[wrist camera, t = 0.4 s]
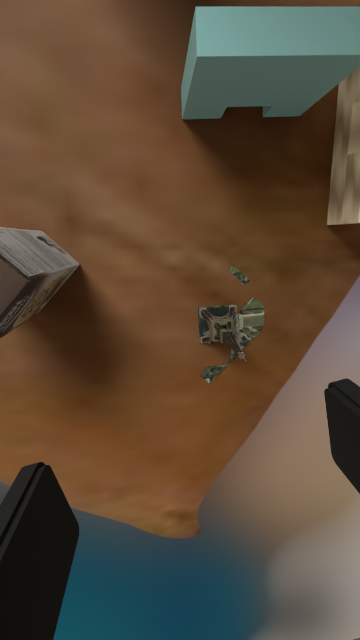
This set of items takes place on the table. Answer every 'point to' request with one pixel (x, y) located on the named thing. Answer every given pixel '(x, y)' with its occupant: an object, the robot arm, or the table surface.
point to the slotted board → (346, 155)
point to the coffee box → (29, 274)
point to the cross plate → (267, 58)
